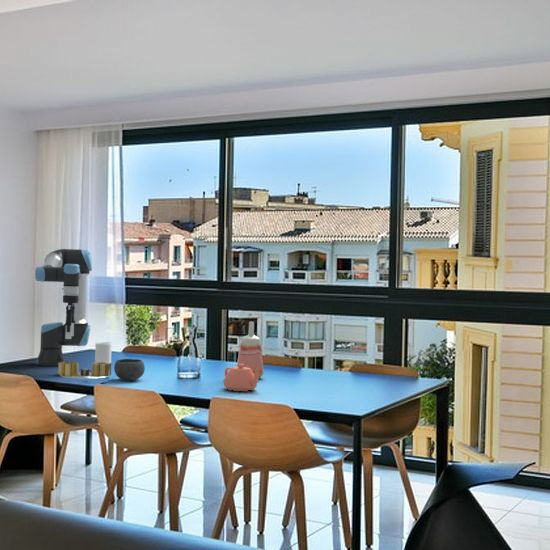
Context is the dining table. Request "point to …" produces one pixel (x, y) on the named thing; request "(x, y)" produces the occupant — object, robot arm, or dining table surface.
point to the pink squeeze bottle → (251, 351)
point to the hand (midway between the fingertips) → (69, 337)
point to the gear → (68, 368)
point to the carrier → (84, 375)
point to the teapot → (241, 378)
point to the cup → (103, 352)
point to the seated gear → (101, 369)
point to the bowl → (129, 369)
